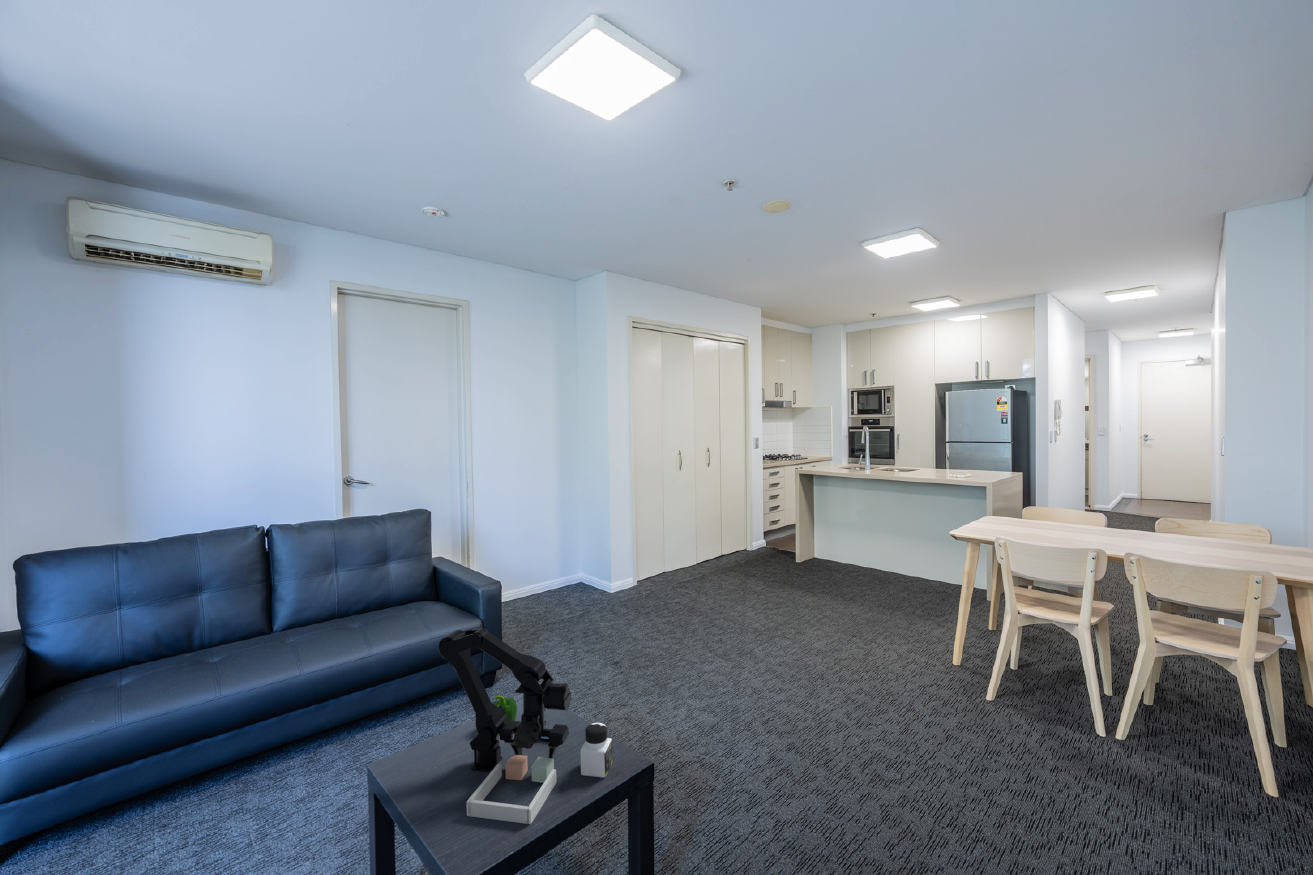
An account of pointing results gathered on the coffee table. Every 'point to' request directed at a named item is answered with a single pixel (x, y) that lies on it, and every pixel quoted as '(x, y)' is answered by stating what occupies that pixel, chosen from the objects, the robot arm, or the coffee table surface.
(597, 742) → the medicine bottle
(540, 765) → the pale green cube
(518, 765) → the salmon pink cube
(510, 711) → the bell pepper
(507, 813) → the box
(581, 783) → the coffee table surface
